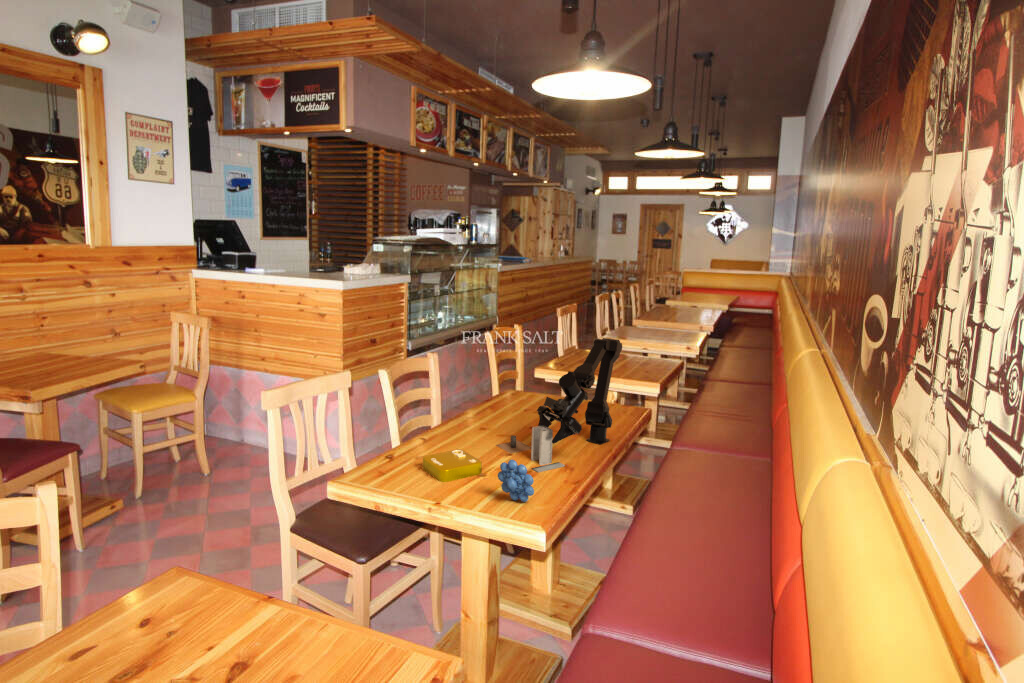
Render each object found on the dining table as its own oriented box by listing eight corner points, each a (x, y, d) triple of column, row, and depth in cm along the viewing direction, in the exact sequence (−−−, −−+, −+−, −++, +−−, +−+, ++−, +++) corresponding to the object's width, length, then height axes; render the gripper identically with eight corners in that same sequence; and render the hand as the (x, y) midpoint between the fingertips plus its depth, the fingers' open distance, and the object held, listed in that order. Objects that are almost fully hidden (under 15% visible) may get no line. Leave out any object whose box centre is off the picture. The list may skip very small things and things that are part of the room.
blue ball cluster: (490, 501, 174) (490, 461, 172) (501, 493, 180) (502, 454, 178) (526, 510, 169) (527, 469, 167) (537, 501, 175) (538, 461, 173)
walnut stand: (518, 443, 225) (518, 430, 224) (534, 451, 217) (534, 437, 216) (495, 447, 219) (495, 434, 219) (510, 456, 211) (510, 442, 210)
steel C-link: (541, 459, 208) (542, 425, 206) (551, 464, 203) (552, 429, 201) (531, 461, 205) (532, 427, 203) (540, 466, 201) (541, 431, 199)
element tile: (420, 468, 199) (420, 454, 198) (460, 460, 207) (460, 446, 206) (442, 484, 187) (442, 469, 186) (483, 474, 195) (484, 460, 194)
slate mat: (545, 456, 212) (545, 455, 212) (564, 466, 203) (564, 465, 203) (518, 461, 206) (518, 460, 206) (537, 472, 197) (538, 471, 197)
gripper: (542, 382, 211) (514, 417, 207) (576, 394, 196) (547, 433, 192) (559, 401, 217) (533, 436, 213) (593, 414, 202) (566, 452, 197)
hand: (544, 439), depth 203 cm, fingers open, 9 cm apart
